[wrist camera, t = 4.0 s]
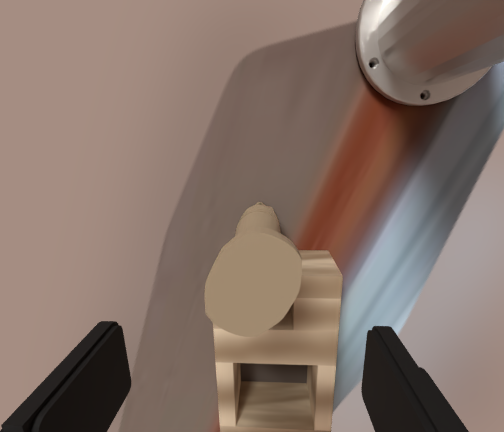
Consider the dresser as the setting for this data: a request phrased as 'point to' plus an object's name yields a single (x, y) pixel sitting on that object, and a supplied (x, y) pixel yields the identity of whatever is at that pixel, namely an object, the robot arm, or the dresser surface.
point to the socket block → (285, 360)
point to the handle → (253, 276)
